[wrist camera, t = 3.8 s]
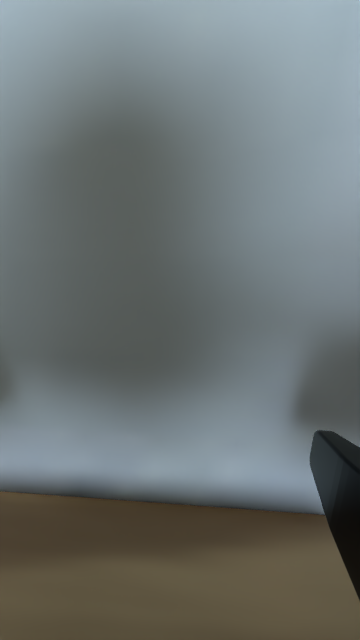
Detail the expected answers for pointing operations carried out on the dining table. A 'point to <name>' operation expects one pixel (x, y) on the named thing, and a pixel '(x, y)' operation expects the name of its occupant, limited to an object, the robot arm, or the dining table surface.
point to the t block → (168, 572)
